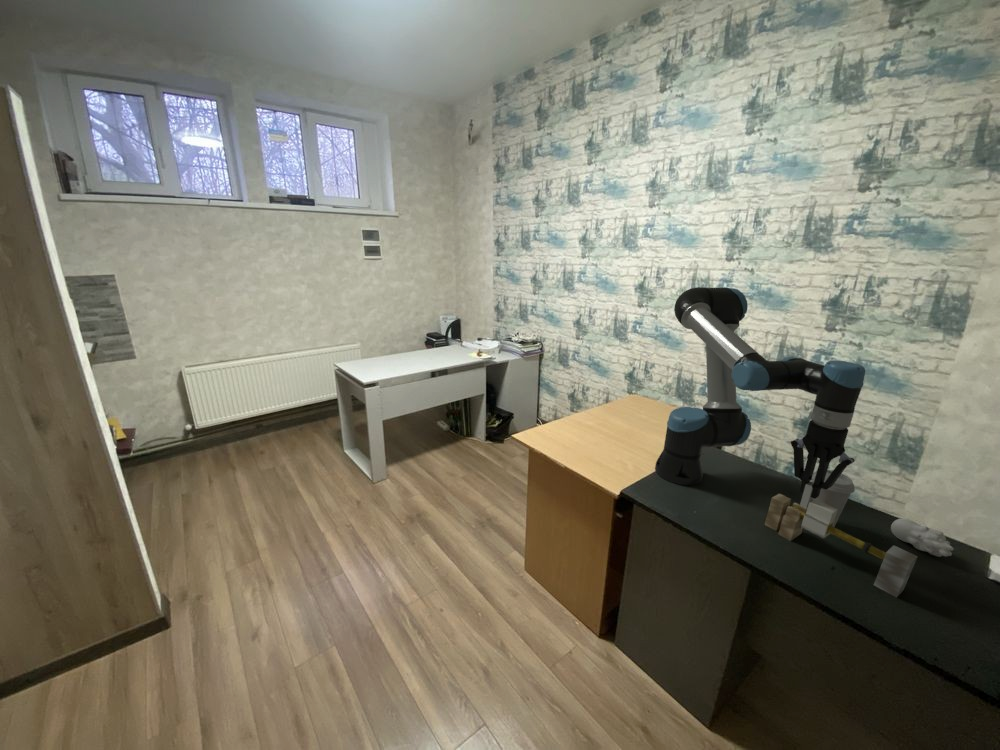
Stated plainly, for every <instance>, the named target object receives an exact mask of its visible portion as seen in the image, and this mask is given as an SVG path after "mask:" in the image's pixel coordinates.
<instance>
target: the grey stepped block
mask: <svg viewBox="0 0 1000 750" xmlns="http://www.w3.org/2000/svg"><path fill="white" fill-rule="evenodd" d="M837 511H838V509H836V508H833V507H831V506H829V505H827V504H825V503H822V502H820V501H818V500H816V499H814V500H812V501H811V502H809V505H808V508H807V511H806V513H805V515H804V518H803V522H802V525H801V527H802V528H803V530H806V531H808V532H810V533H812V534H813V535H816V536H818V537H819V538H822V539H825V538H826V537H828V536H829V535H831V534H830V533H828V532H827V529H828V526H829V525H830V526H832V527H833V525H834V522H835V517H836V514H837Z"/></svg>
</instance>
